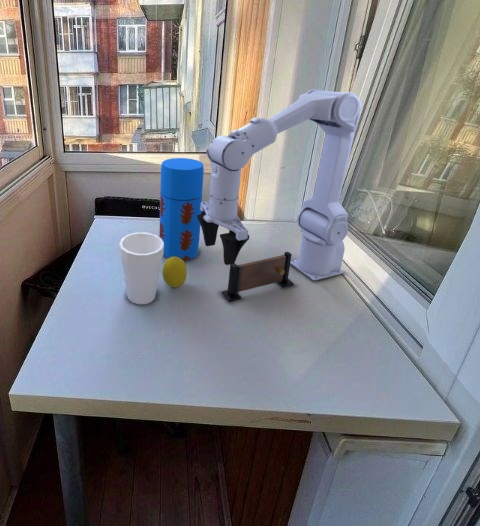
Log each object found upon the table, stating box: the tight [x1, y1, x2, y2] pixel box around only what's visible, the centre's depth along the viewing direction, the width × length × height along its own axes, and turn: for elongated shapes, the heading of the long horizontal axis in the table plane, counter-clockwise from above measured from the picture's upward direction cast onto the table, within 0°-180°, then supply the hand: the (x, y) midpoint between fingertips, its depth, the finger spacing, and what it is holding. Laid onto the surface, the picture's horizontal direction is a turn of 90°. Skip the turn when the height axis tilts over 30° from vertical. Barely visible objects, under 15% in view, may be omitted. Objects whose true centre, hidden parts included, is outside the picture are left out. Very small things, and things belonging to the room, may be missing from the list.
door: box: [235, 254, 286, 294], centre depth 74 cm, size 13×2×6 cm, turn 109°
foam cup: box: [118, 231, 164, 305], centre depth 72 cm, size 10×9×13 cm
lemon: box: [161, 256, 188, 289], centre depth 75 cm, size 6×6×8 cm
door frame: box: [221, 251, 295, 303], centre depth 74 cm, size 17×3×8 cm, turn 109°
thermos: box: [158, 157, 205, 262], centre depth 88 cm, size 11×11×25 cm
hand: (219, 253), depth 71 cm, fingers open, 7 cm apart
